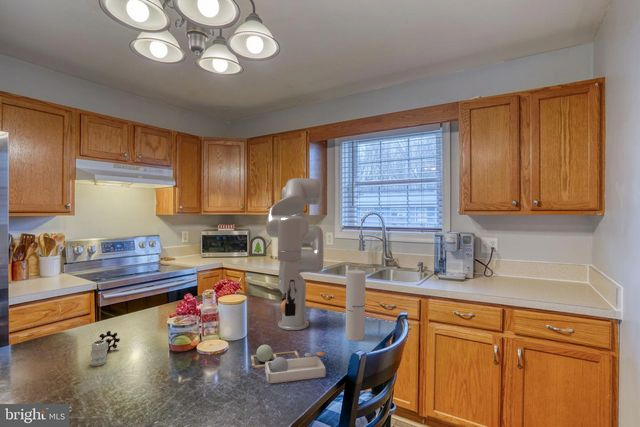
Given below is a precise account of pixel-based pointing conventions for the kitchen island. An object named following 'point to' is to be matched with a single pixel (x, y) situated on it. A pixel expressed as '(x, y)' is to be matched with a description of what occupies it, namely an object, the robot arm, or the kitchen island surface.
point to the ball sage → (264, 353)
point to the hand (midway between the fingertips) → (288, 312)
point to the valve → (102, 348)
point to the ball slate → (279, 365)
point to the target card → (316, 354)
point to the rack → (273, 356)
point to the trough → (297, 370)
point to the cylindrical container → (355, 305)
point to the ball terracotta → (283, 306)
